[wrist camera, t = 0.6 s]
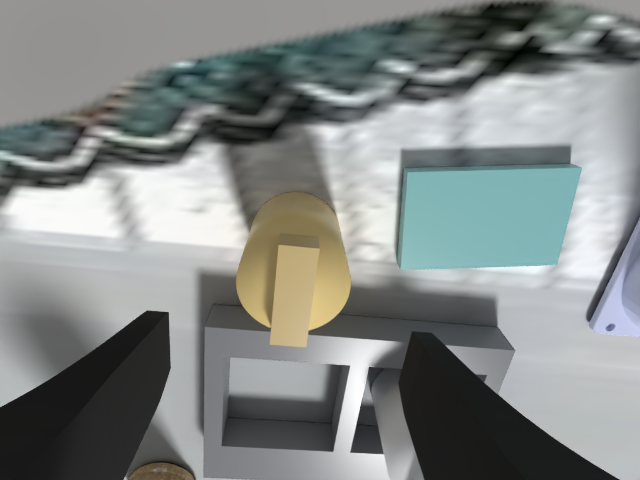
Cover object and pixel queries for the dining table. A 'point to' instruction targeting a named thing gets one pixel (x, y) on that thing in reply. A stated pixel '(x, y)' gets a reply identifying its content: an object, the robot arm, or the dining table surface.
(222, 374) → the housing
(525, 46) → the dining table surface
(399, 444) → the grey knob with ridge
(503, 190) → the lid plate
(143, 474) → the spice jar
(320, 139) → the dining table surface
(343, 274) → the beige cylinder with tab
